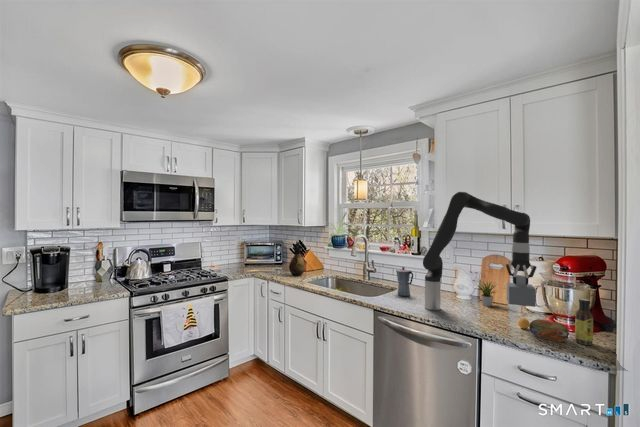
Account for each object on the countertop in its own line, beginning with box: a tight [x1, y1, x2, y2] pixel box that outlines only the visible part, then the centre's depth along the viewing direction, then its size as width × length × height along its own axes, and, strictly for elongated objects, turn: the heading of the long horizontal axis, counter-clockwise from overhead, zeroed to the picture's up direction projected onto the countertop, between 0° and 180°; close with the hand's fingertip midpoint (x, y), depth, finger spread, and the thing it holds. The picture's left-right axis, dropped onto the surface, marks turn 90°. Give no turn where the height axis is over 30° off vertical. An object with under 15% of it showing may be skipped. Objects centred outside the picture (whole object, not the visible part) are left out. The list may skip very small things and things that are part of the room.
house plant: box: [476, 280, 499, 307], centre depth 204 cm, size 14×14×16 cm
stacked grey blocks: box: [506, 274, 537, 308], centre depth 162 cm, size 11×11×14 cm
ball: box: [517, 318, 531, 330], centre depth 162 cm, size 5×5×5 cm
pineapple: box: [288, 243, 306, 277], centre depth 298 cm, size 17×15×30 cm
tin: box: [528, 318, 570, 343], centre depth 149 cm, size 15×3×8 cm, turn 45°
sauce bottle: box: [574, 298, 594, 346], centre depth 144 cm, size 6×6×20 cm
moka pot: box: [395, 266, 414, 297], centre depth 228 cm, size 10×15×20 cm, turn 40°
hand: (520, 284), depth 163 cm, fingers closed on stacked grey blocks, 4 cm apart
